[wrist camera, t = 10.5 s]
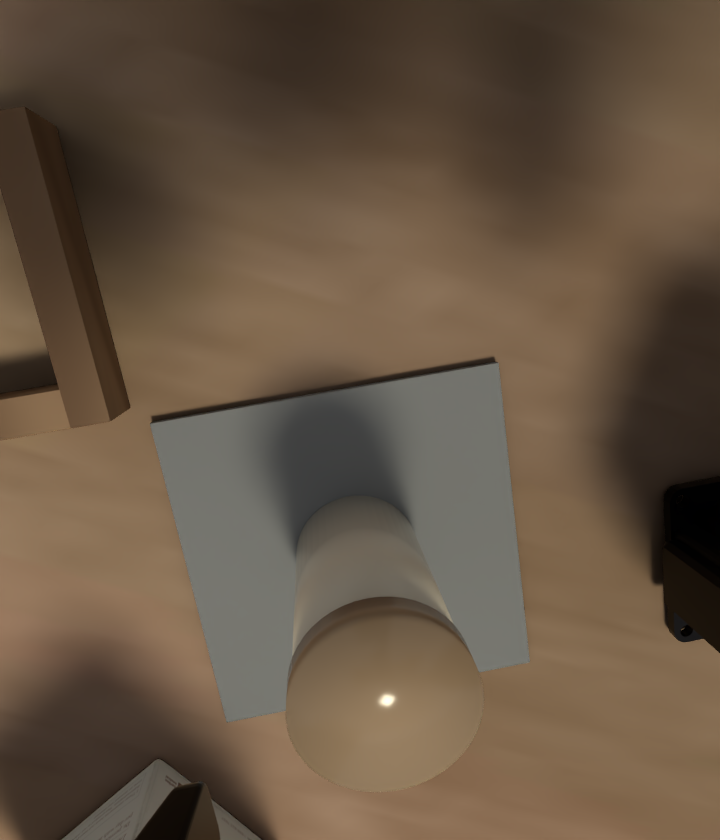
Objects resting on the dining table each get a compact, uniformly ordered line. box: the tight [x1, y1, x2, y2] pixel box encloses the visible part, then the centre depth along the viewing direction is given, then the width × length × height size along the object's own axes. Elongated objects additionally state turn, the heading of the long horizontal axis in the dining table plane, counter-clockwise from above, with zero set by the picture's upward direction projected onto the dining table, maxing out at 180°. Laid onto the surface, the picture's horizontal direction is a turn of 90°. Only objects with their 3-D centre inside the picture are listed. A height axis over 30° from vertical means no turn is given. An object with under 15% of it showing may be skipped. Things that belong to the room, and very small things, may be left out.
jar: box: [286, 496, 484, 792], centre depth 17 cm, size 5×5×8 cm
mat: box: [150, 362, 530, 722], centre depth 21 cm, size 12×12×1 cm
